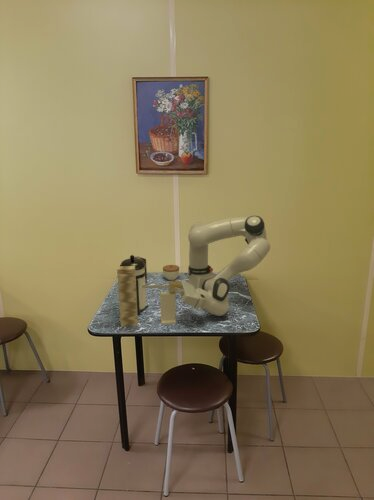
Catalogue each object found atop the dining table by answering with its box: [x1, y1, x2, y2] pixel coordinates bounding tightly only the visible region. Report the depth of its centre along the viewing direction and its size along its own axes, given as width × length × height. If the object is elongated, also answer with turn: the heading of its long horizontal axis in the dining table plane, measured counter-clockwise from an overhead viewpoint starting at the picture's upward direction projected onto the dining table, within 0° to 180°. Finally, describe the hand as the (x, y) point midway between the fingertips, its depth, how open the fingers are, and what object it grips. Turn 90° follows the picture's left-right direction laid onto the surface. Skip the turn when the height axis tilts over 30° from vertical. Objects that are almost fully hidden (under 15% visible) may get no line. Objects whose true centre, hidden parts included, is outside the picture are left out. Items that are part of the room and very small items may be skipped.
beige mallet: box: [142, 280, 181, 293], centre depth 170 cm, size 18×4×4 cm, turn 97°
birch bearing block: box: [116, 266, 139, 327], centre depth 169 cm, size 8×6×28 cm
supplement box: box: [134, 255, 148, 283], centre depth 223 cm, size 9×5×16 cm, turn 44°
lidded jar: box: [162, 264, 180, 281], centre depth 229 cm, size 11×11×9 cm
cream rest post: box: [159, 291, 177, 326], centre depth 174 cm, size 7×8×15 cm
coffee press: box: [119, 254, 149, 316], centre depth 182 cm, size 17×16×30 cm
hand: (173, 285), depth 171 cm, fingers closed on beige mallet, 4 cm apart
